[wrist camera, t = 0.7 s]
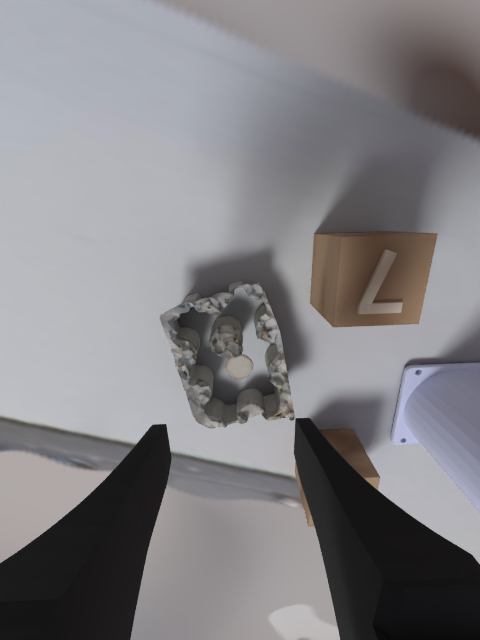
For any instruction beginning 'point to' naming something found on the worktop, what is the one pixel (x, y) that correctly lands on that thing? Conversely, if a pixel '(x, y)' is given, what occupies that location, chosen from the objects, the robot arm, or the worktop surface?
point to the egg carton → (229, 360)
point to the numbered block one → (352, 454)
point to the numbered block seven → (371, 277)
